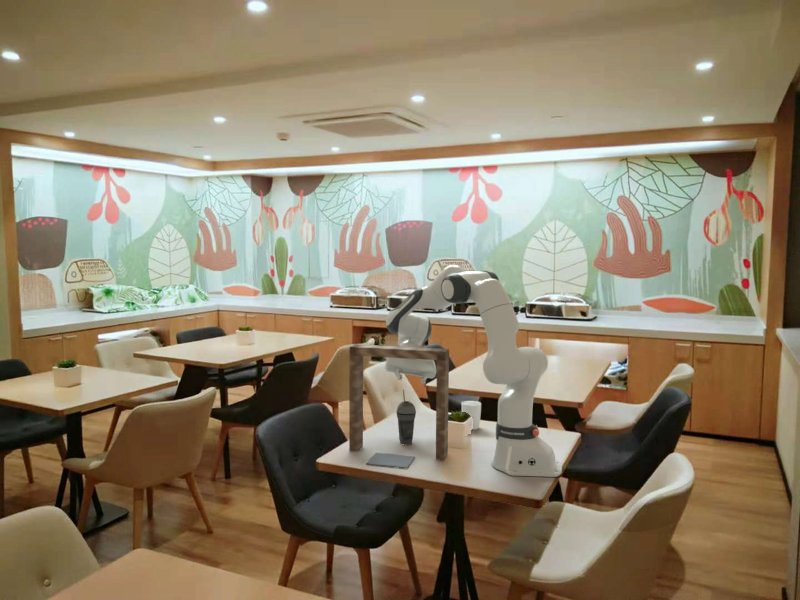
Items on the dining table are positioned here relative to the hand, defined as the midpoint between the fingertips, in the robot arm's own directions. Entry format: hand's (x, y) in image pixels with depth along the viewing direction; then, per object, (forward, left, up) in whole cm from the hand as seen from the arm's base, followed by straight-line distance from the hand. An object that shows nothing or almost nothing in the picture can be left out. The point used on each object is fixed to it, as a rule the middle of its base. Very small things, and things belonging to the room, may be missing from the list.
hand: (411, 381), depth 229 cm
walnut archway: (-1, +22, -21) cm, 30 cm away
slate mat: (-1, +31, -21) cm, 37 cm away
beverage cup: (-1, +11, -21) cm, 24 cm away
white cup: (-21, -16, -21) cm, 34 cm away
